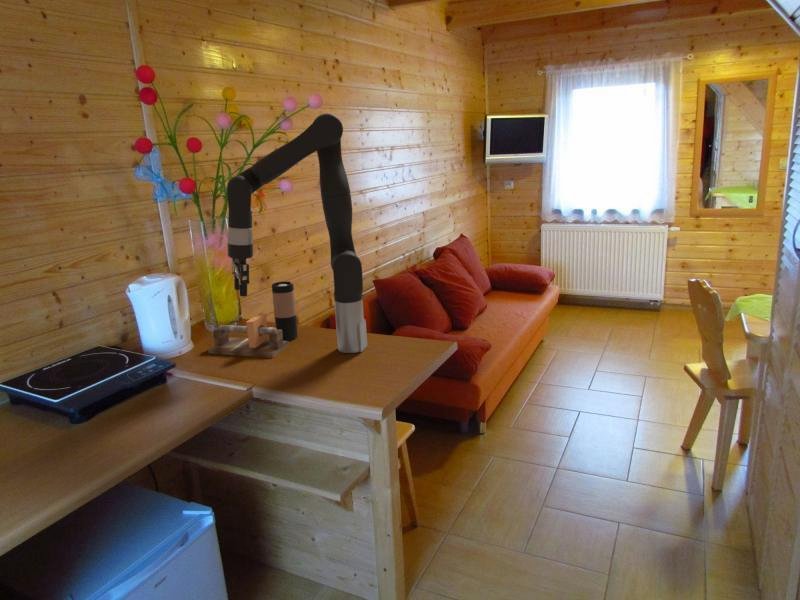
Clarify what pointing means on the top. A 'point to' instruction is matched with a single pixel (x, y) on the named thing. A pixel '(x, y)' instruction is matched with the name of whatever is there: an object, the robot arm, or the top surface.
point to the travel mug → (285, 309)
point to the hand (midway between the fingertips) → (240, 292)
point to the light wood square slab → (256, 330)
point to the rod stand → (247, 342)
